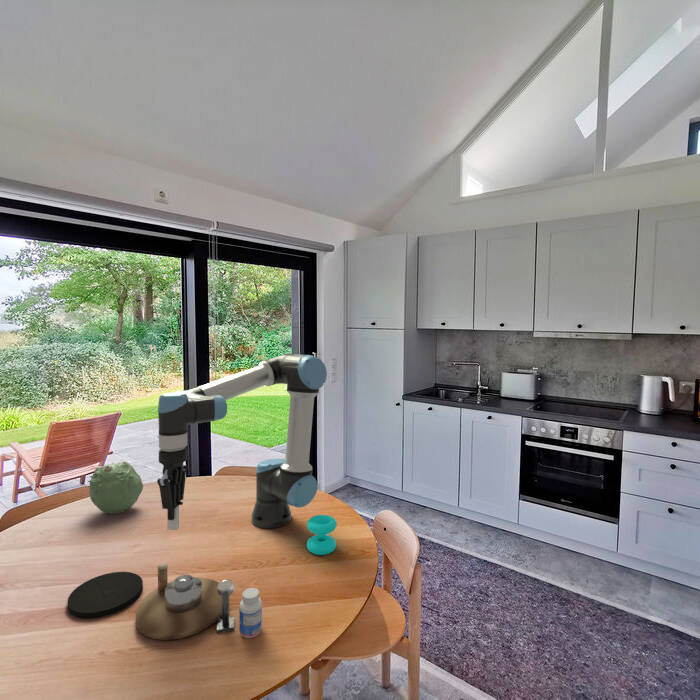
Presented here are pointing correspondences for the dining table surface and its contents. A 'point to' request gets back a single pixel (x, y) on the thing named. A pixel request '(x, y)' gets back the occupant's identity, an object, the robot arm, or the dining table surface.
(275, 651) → the dining table surface
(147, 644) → the dining table surface
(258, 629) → the pill bottle
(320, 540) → the donuts
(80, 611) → the wireless charger
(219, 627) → the dial post
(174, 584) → the cover
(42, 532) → the dining table surface
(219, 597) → the turntable
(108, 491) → the cabbage
